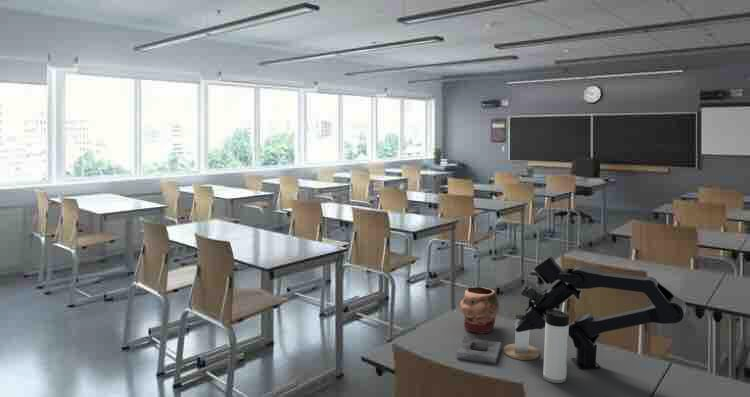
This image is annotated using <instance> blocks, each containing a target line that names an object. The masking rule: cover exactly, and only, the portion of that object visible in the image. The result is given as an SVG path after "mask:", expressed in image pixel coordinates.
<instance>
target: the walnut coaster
mask: <svg viewBox="0 0 750 397" xmlns="http://www.w3.org/2000/svg"><path fill="white" fill-rule="evenodd" d="M514 350H515V343H509V344H506V345H504V347H503V353H504V354H505V355H506V356H507V357H510V358H512V359H515V360H519V361H520V360H521V361H531V360H535V359H537V358H539V357H540V354H541V353H540V350H539V349H538V348H537V347H535V346H532V345H531V344H529V349H528V354H523V353H516V352H514Z"/></svg>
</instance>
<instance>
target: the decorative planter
mask: <svg viewBox="0 0 750 397" xmlns="http://www.w3.org/2000/svg"><path fill="white" fill-rule="evenodd" d="M499 304H500V303H499V300H498V294H497V291H496V290H494V289H491V288H487V287H482V286H480V287H479V286H470V287H468V288H467V289H466V290H465V291H464V297H463V299H462V300H461V301H460V303H459V309H460V311H461V313H462V314H463V318H464V326H463V327H464V328H465V330H467V331H470V332H472V333H476V334H486V333H489V332H491V331H492V330H493V329H494V326H495V322H496V317H497V315H498V312H499V310H500V305H499Z"/></svg>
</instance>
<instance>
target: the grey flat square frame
mask: <svg viewBox="0 0 750 397" xmlns="http://www.w3.org/2000/svg"><path fill="white" fill-rule="evenodd" d="M501 349H502V342H500V341H492V340H485V339H478V338H472V337H463V339H462V341H461V343H460V345H459V347H458V349H457V350H456V359H459V360H465V361H466V360H467V361H471V362H478V363H479V362H480V363H487V364H492V365H497V362H498V359H499V357H500V356H499V354H500V352H501Z"/></svg>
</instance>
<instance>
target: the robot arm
mask: <svg viewBox="0 0 750 397" xmlns="http://www.w3.org/2000/svg"><path fill="white" fill-rule="evenodd" d="M533 271H534V272H535V273H536V275H537V276H539V278H540V280H542V281H543V283H545V284H547V285H552V286H550V287H549V288H545V289H541V288H540V287H538V286H535V285H533V284H532V283H530V282H528V281H526V282H525V283H524V285H523V286H522V288H521V291H520V295H522V296H523V297H527V298H528V306H527V308H525V310H524V311H526V314H525V315H526V318H525V319H524V320H523V321H522V322H521V323H520V325H519V326H518V327H517V328H516V331H517V332H522V331H527V330H529V331H532V330H542V329H545V324H546V311H547V310H556V309H557V310H559V309H560V308H561V305H562V304H564V303H565V302H567V301H568V300H569V299H570V298H571V297H573V296H575V298H576V299H577V300H580V299H581V297H582V291H583V289H586V290H587V289H589V290H591V289H595V288H607V289H613V290H623V291H628V292H637V293H643V294H645V295H646V296H647V297H648V298H649V300H650V302H651V303H652V304H651V305H648V306H647V307H641V308H637V309H632V310H629V311H628V310H627V311H624V312H620V313H615V314H609V315H606V316H602V317H597V316H594V315H593V312H589V313H587V314H579V315H578V316H577V317H576V318H575V319H574V321H573V322H572V323H571V324H569V333H568V337H570V338H571V340H572V342H573V346H574V348H575V350H576V351H575V357H571V358H570V360H571V362H573V363H574V365H575V366H577V367H578V369H581V370H582V369H601V365H600V364H599V363H598V362H597V350H598V349H597V348H598V345H597V343H598V342H599V340H600V338H601V335H600V334H602V333H605V332H606V333H607V332H612V331H617V330H621V329H627V328H631V327H636V326H641V325H645V324H651V323H653V324H660V325H667V324H668V325H669V324H678V323H680V322H681V321H682V320H683V319H684V317H685V314H686V311H687V305H686V302H685V301H684V300H683V299H682V298H681V297H678V296H676V295H675V294H674V293H673V292H672V291H670V290H669V289H668V288H667V287H665V286H664V285H662V284H661V283H660V282H659V281H658V280H657V279H656V278H655V277H652V276H638V275H631V274H623V273H622V274H621V273H612V272H606V271H605V272H604V271H600V270H598V269H597V268H593V267H590V266H587V265H578V266H577V267H573V268H571V267H570V268H569V267H568V268H566V267H565V268H564V269H562V268H561V266H560V265H559V264H558V263H557V262H556V260H555V259H554V257H552V256H550V257H548V258H547V259H545V260H544V261H542V262H541V263H539V264H538V265H537V266H535V268H534V269H533ZM558 279H559V281H557V280H558ZM556 281H557V282H556ZM554 282H556V283H555V284H554V285H553V283H554Z"/></svg>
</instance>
